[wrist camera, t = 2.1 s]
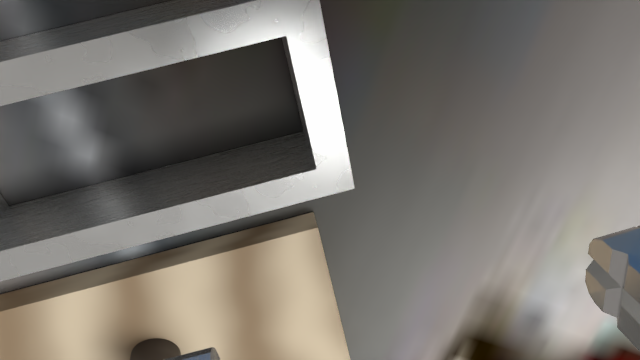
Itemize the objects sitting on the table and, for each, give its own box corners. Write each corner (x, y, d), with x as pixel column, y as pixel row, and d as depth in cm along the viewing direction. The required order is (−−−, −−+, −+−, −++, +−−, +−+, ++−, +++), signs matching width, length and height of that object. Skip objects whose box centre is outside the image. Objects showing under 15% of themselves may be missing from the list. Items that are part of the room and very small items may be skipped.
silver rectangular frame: (301, -31, 22) (316, -15, 18) (337, 149, 27) (354, 188, 23) (-121, 70, 21) (-186, 106, 17) (-6, 237, 26) (-40, 291, 22)
